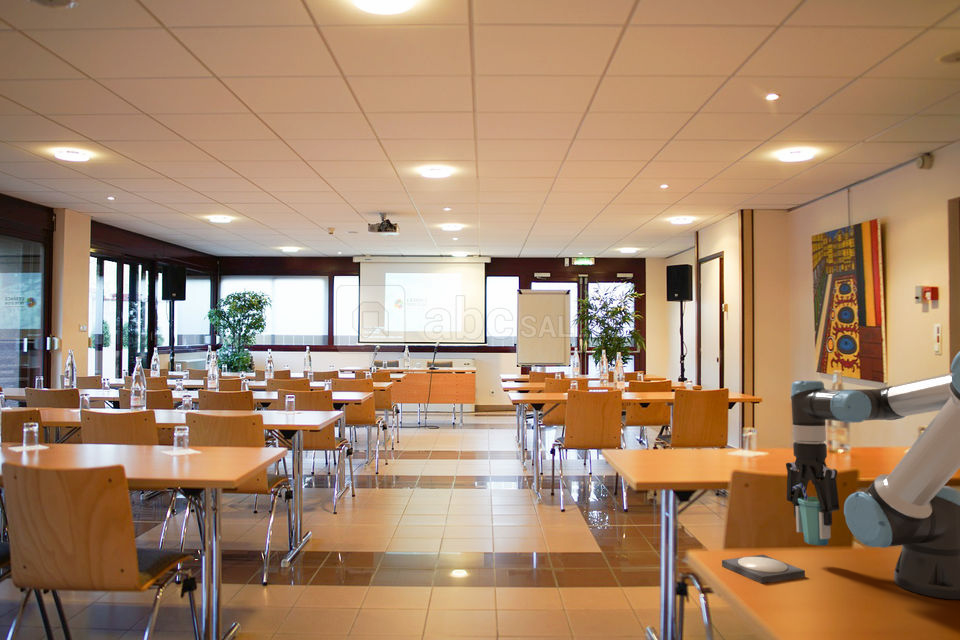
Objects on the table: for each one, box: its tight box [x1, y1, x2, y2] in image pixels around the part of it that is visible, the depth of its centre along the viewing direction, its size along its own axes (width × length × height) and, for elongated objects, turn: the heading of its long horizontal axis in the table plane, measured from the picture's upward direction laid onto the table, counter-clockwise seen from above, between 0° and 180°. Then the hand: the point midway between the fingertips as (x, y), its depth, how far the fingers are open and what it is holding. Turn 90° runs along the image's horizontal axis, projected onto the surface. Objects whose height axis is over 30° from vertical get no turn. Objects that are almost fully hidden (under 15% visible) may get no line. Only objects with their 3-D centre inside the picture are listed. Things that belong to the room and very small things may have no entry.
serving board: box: [721, 554, 806, 584], centre depth 157 cm, size 13×13×2 cm
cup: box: [791, 484, 829, 546], centre depth 163 cm, size 14×8×15 cm, turn 116°
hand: (813, 534), depth 162 cm, fingers closed on cup, 6 cm apart
